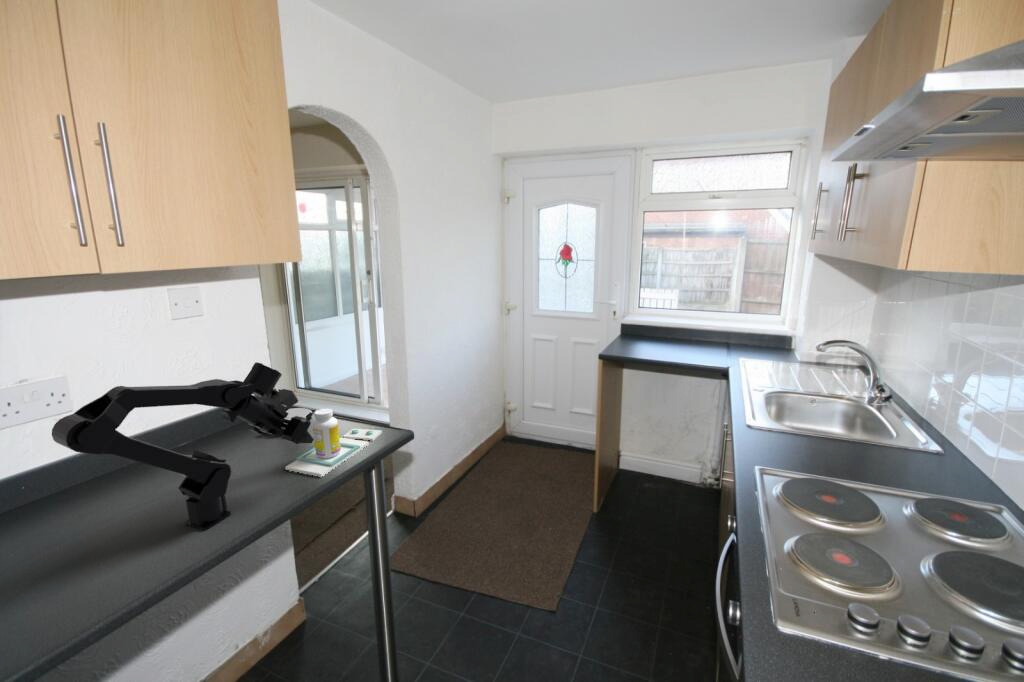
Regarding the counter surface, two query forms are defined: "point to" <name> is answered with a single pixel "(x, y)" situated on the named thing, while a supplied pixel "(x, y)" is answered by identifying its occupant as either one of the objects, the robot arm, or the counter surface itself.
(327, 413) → the supplement bottle
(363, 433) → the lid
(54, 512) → the counter surface
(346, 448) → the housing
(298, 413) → the robot toy
